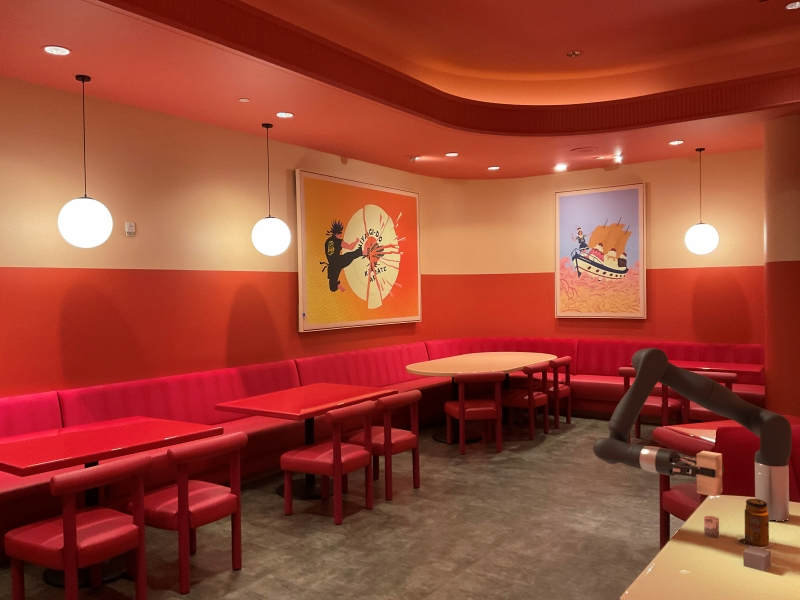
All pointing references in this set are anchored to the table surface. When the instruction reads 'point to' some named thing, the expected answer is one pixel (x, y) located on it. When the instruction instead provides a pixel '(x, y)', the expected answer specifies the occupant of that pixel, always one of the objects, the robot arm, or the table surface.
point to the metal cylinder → (711, 526)
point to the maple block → (709, 483)
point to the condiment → (756, 525)
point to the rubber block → (757, 558)
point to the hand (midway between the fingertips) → (719, 471)
